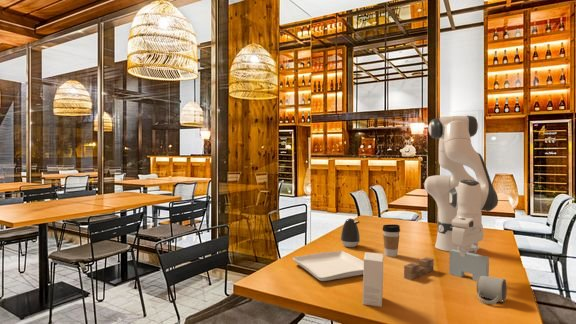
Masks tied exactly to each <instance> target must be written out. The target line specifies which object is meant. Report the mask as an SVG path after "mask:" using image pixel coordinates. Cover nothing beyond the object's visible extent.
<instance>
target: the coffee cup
mask: <svg viewBox="0 0 576 324" xmlns="http://www.w3.org/2000/svg"><path fill="white" fill-rule="evenodd" d="M400 226H401V225H399V224H383V226H382V231H383V232H382V233H383V237H382V238H383V249H384V255H385V256H386V257H391V258H394V257H398V253H399V251H398V250H399V245H400V244H399V243H400V242H399V241H400V232H401V228H400Z"/></svg>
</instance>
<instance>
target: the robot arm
mask: <svg viewBox="0 0 576 324" xmlns="http://www.w3.org/2000/svg"><path fill="white" fill-rule="evenodd" d="M478 129H479V123H478V120H477V118H476V117H475V116H472V115H465V116H464V115H451V116H445V117H440V118H439V117H436V118H433V119H431V120H430V121H429V124H428V130H427V131H428V133H429V136H430V137H431V138H432V139H433V140H434V139H435V140H439V141H438V164H439V166H440V167H441V168H443V169H444V170H447V171H448V172H450V174H451V175H442V174H437V175H430V176H427V177H426V178H425V181H424V184H423V186H424V190H425V192H426V193H428V195H430V196H431V197H432V198H433V200H434V201H435V202H436V205H437V210H438V211H437V213H438V221H437V234H436V241H435V245H434V248H436V249H437V250H440V251H441V250H442V251H444V252H450V250H452V249H455V250H460V256H462V257H465V256H466V252H469V253H473V254H476V253H477V251H478V250H480V247H479V246H478V245H479V242H481V241H483V239H484V227H483V222H482V220H483V219H482V211H483V212H491V211H493V210H494V209H495V208H496V207H497V206H498V204H499V197H498V194H497V192H496V189H495V188H494V186H493V184H492V183H493V182H492V180H491V177H490V175H489V172H488V169H487V165H486V163H485V161H484V158H483V156H482V155H481V153H480V152H477V151H476V150H475V149H474V146H473V145H472V140H471V138H472V137H474V136H475V135H476V134H477V132H478ZM465 167H468V168H469V169H471V170H472V171H473V172H474V174H475V177H476V179H475V178H474V177H473V176H471V175H470V174H469V173H468V172H467V170H466V168H465Z"/></svg>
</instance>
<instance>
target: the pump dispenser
mask: <svg viewBox="0 0 576 324" xmlns="http://www.w3.org/2000/svg"><path fill="white" fill-rule="evenodd" d="M358 224H360V221H359V220H357V221H355V220H354V218H348V219H346V220H345V222H344V223H343V226H342V229H341V232H340V240H341V243H342V245H343V246H344V247H346V248H355V247H357V246H358V245H359V243H360V241H361V236H360V230H359V227H358Z"/></svg>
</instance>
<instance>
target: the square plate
mask: <svg viewBox="0 0 576 324" xmlns="http://www.w3.org/2000/svg"><path fill="white" fill-rule="evenodd" d="M292 260H293V261H294V262H295V263H296V264H297V265H298V266H300V267H301V268H303V269H304V270H306V271H307V272H308V273H309V274H311V275H312V276H313V277H314V278H316V279H317V280H319V281H321V282H326V281H332V280H333V281H334V280H339V279H345V278H351V277H357V276H362V275H363V269H364V260H362V259H360V258H358V257H356V256H354V255H353V254H350V253H347V252H345V251H343V250H338V251H337V250H336V251H326V252H318V253H312V254H311V253H310V254H305V255H298V256H294V257H292Z"/></svg>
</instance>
